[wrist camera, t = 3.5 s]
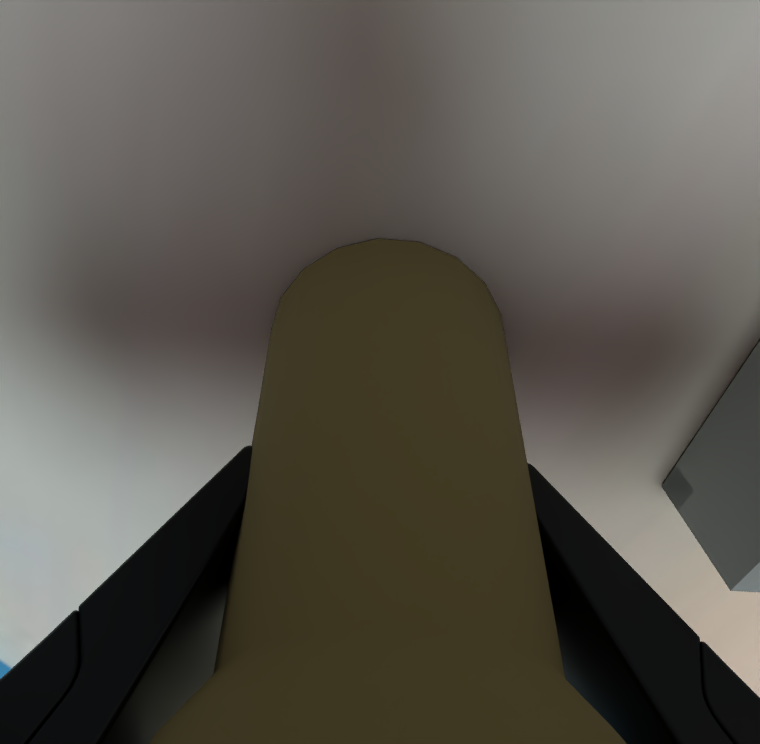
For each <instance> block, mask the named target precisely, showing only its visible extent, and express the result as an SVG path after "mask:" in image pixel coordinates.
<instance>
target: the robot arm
mask: <svg viewBox="0 0 760 744" xmlns="http://www.w3.org/2000/svg"><path fill="white" fill-rule="evenodd" d="M252 448H253V446H246V447H244V448H243V449H242V450H241V451H240V452H239V453H238V454H237V455H236V456H235V457H234V458H233V459H232V460H231V461H230V462H229V463H228V464H226V465H225V466H224V467H223V468H222V469H221V470H220V471H219V472H218V473H217V474H216V475H215V476H214V477H213V478H212V479H211V480H210V481H209V482H208V483H207V484H206V485H205V486H204V487H202V488H201V489H200V490H199V491H198V492H197V493H196V494H195V495H194V496H193V497H192V498H191V499H190V500H189V501H188V502H187V503H186V504H185V505H184V506H183V507H182V508H181V509H180V510H179V511H177V512H176V513H175V514H174V515H173V516H172V517H171V518H170V519H169V520H168V521H167V522H166V523H165V524H164V525H163V526H162V527H161V528H160V529H159V530H158V531H157V532H156V533H155V534H153V535H152V536H151V537H150V538H149V539H148V540H147V541H146V542H145V543H144V544H143V545H142V546H141V547H140V548H139V549H138V550H137V551H136V552H135V553H134V554H133V555H132V556H131V557H129V558H128V559H127V560H126V561H125V562H124V563H123V564H122V565H121V566H120V567H119V568H118V569H117V570H116V571H115V572H114V573H113V574H112V575H111V576H110V577H109V578H108V579H107V580H106V581H104V582H103V583H102V584H101V585H100V586H99V587H98V588H97V589H96V590H95V591H94V592H93V593H92V594H91V595H90V596H89V597H88V598H87V599H86V600H85V601H84V602H83V603H82V604H80V606H79V611H77V610H75V611H73V612H72V613H71V614H70V615H69V616H68V617H67V618H66V619H65V620H63V621H62V622H61V623H60V624H59V625H58V626H57V627H56V628H55V629H54V630H53V631H52V632H51V633H50V634H49V635H48V636H47V637H46V638H45V639H43V640H42V641H41V642H40V643H39V644H38V645H37V646H36V647H35V648H34V649H33V650H32V651H30V652H29V653H28V654H27V655H26V656H25V657H24V658H23V659H22V660H21V661H20V662H19V663H17V664H16V665H15V666H14V667H13V668H12V669H11V670H10V671H9V672H8V673H7V674H6V675H4V676H3V677H2V678H1V679H0V744H149V743H150V741H151V739H152V738H153V736H154V734H155V733H156V732H157V731H158V730H159V729H160V728H161V727H162V726H163V725H164V724H165V723H166V722H167V721H168V720H169V719H170V718H171V717H172V716H173V715H174V714H175V713H176V712H177V711H178V710H179V709H180V708H181V707H182V706H183V704H184V703H185V702H186V701H187V700H188V699H189V698H190V697H191V696H192V695H193V694H194V693H195V692H196V691H197V690H198V689H199V688H200V687H201V686H202V685H203V684H204V683H205V682H206V681H207V680H208V679H209V678H210V677H211V676H212V675H213V673H214V667H215V661H216V655H217V649H218V643H219V637H220V631H221V625H222V619H223V613H224V608H225V602H226V596H227V590H228V584H229V578H230V572H231V566H232V560H233V554H234V550H235V546H236V542H237V537H238V533H239V529H240V525H241V520H242V516H243V512H244V507H245V502H246V495H247V488H248V481H249V473H250V465H251V457H252ZM527 465H528V471H529V476H530V482H531V488H532V493H533V499H534V504H535V510H536V516H537V521H538V527H539V533H540V538H541V544H542V550H543V555H544V561H545V567H546V572H547V578H548V584H549V589H550V595H551V600H552V606H553V612H554V617H555V623H556V629H557V634H558V640H559V646H560V651H561V657H562V663H563V668H564V674H565V679H566V680H567V681H568V682H569V683H570V684H571V685H572V686H573V687H574V688H575V689H576V690H577V691H578V692H579V693H580V694H581V695H582V696H583V698H584V699H585V700H586V701H587V702H588V703H589V704H590V705H591V706H592V707H593V708H594V709H595V710H596V711H597V712H598V713H599V714H600V715H601V716H602V717H603V718H604V719H605V720H606V721H607V722H608V723H609V724H610V725H611V726H612V727H613V728H614V730H615V731H616V732H617V733H618V734H619V735H620V736H621V738H622V739H623V740H624V741H625V742H626V743H627V744H760V698H759V697H758V696H757V695H756V694H755V693H754V692H753V691H752V690H751V689H750V688H749V687H748V686H747V685H746V684H745V683H744V682H743V681H742V680H741V679H740V678H739V677H738V676H737V675H736V674H735V673H734V672H733V671H732V670H731V669H730V668H729V667H728V666H727V665H726V664H725V663H724V662H723V661H722V659H721V658H720V657H719V656H718V655H717V654H716V653H715V652H714V651H713V650H712V649H711V648H710V647H709V646H708V645H707V644H706V643H705V642H700V638H699V636H698V635H697V634H696V633H695V632H694V631H693V630H692V629H691V628H690V627H689V626H688V625H687V624H686V623H685V622H684V621H683V620H682V619H681V618H680V617H679V616H678V615H677V613H676V612H675V611H674V610H673V609H672V608H671V607H670V606H669V605H668V604H667V603H666V602H665V601H664V600H663V599H662V598H661V597H660V596H659V595H658V594H657V593H656V592H655V591H654V590H653V589H652V588H651V587H650V586H649V585H648V584H647V583H646V582H645V581H644V580H643V579H642V578H641V576H640V575H639V574H638V573H637V572H636V571H635V570H634V569H633V568H632V567H631V566H630V565H629V564H628V563H627V562H626V561H625V560H624V559H623V558H622V557H621V556H620V555H619V554H618V553H617V552H616V551H615V550H614V549H613V548H612V547H611V546H610V545H609V544H608V543H607V542H606V541H605V539H604V538H603V537H602V536H601V535H600V534H599V533H598V532H597V531H596V530H595V529H594V528H593V527H592V526H591V525H590V524H589V523H588V522H587V521H586V520H585V519H584V518H583V517H582V516H581V515H580V514H579V513H578V512H577V511H576V510H575V509H574V508H573V507H572V506H571V505H570V503H569V502H568V501H567V500H566V499H565V498H564V497H563V496H562V495H561V494H560V493H559V492H558V491H557V490H556V489H555V488H554V487H553V486H552V485H551V484H550V483H549V482H548V481H547V480H546V479H545V478H544V477H543V476H542V475H541V474H540V473H539V472H538V471H537V470H536V469H535V468H534V467H533V466H532V465H531V464H528V463H527Z"/></svg>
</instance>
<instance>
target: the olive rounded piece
mask: <svg viewBox="0 0 760 744" xmlns="http://www.w3.org/2000/svg"><path fill="white" fill-rule="evenodd" d="M252 446H253V448H252V457H251V465H250V473H249V481H248V488H247V495H246V502H245V507H244V512H243V516H242V520H241V525H240V529H239V533H238V537H237V542H236V546H235V550H234V554H233V560H232V566H231V572H230V578H229V584H228V590H227V596H226V602H225V608H224V613H223V619H222V625H221V631H220V637H219V643H218V649H217V655H216V661H215V667H214V673H213V675H212V676H211V677H210V678H209V679H208V680H207V681H206V682H205V683H204V684H203V685H202V686H201V687H200V688H199V689H198V690H197V691H196V692H195V693H194V694H193V695H192V696H191V697H190V698H189V699H188V700H187V701H186V702H185V703H184V704H183V706H182V707H181V708H180V709H179V710H178V711H177V712H176V713H175V714H174V715H173V716H172V717H171V718H170V719H169V720H168V721H167V722H166V723H165V724H164V725H163V726H162V727H161V728H160V729H159V730H158V731H157V732H156V733H155V734H154V736H153V738H152V739H151V741H150V743H149V744H627V743H626V742H625V741H624V740H623V739H622V738H621V736H620V735H619V734H618V733H617V732H616V731H615V730H614V728H613V727H612V726H611V725H610V724H609V723H608V722H607V721H606V720H605V719H604V718H603V717H602V716H601V715H600V714H599V713H598V712H597V711H596V710H595V709H594V708H593V707H592V706H591V705H590V704H589V703H588V702H587V701H586V700H585V699H584V698H583V696H582V695H581V694H580V693H579V692H578V691H577V690H576V689H575V688H574V687H573V686H572V685H571V684H570V683H569V682H568V681H567V680H566V679H565V674H564V668H563V663H562V657H561V651H560V646H559V640H558V634H557V629H556V623H555V617H554V612H553V606H552V600H551V595H550V589H549V584H548V578H547V572H546V567H545V561H544V555H543V550H542V544H541V538H540V533H539V527H538V521H537V516H536V510H535V504H534V499H533V493H532V488H531V482H530V476H529V471H528V465H527V459H526V454H525V448H524V442H523V437H522V431H521V425H520V420H519V414H518V408H517V403H516V397H515V392H514V386H513V380H512V375H511V369H510V363H509V358H508V352H507V346H506V341H505V335H504V329H503V324H502V318H501V313H500V311H499V309H498V307H497V305H496V304H495V302H494V300H493V298H492V296H491V294H490V292H489V290H488V288H487V286H486V284H485V283H484V282H483V281H482V280H481V279H480V278H479V277H478V276H477V275H475V274H474V273H473V272H472V271H471V270H470V269H469V268H468V267H467V266H465V265H464V264H463V263H462V262H461V261H460V260H459V259H458V258H456V257H454V256H452V255H449V254H447V253H444V252H442V251H440V250H437V249H435V248H432V247H430V246H428V245H425V244H423V243H420V242H412V241H399V240H386V239H374V240H370V241H366V242H362V243H357V244H353V245H349V246H345V247H341V248H337V249H335V250H333V251H332V252H330V253H329V254H327V255H325V256H324V257H322V258H321V259H319V260H317V261H316V262H314V263H313V264H311V265H309V266H308V267H306V268H305V269H303V270H302V272H301V273H300V274H299V275H298V277H297V278H296V279H295V281H294V282H293V283H292V284H291V286H290V287H289V288H288V289H287V291H286V292H285V293H284V295H283V296H282V297H281V299H280V303H279V306H278V309H277V313H276V316H275V319H274V322H273V326H272V329H271V335H270V341H269V346H268V352H267V358H266V364H265V370H264V376H263V382H262V388H261V394H260V400H259V406H258V412H257V418H256V424H255V430H254V435H253V441H252Z"/></svg>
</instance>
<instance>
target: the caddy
mask: <svg viewBox="0 0 760 744" xmlns="http://www.w3.org/2000/svg"><path fill="white" fill-rule="evenodd" d="M662 488H663V489H664V491H665V492H666V494H667V495H668V497H669V498H670V500H671V501H672V503H673V504H674V506H675V507H676V509H677V510H678V512H679V513H680V515H681V516H682V518H683V519H684V521H685V522H686V524H687V525H688V527H689V529H690V530H691V532H692V533H693V535H694V536H695V538H696V539H697V541H698V542H699V544H700V545H701V547H702V548H703V550H704V551H705V553H706V554H707V556H708V557H709V559H710V560H711V562H712V563H713V565H714V566H715V568H716V569H717V571H718V572H719V574H720V576H721V577H722V579H723V580H724V582H725V583H726V585H727V586H728V588H729V589H730V591H745V592H760V341H759V342H758V344H757V345H756V347H755V348H754V350H753V351H752V353H751V354H750V356H749V357H748V359H747V360H746V362H745V363H744V365H743V366H742V368H741V369H740V371H739V372H738V374H737V375H736V377H735V378H734V380H733V381H732V382H731V384H730V385H729V387H728V388H727V390H726V391H725V393H724V394H723V396H722V397H721V399H720V400H719V402H718V403H717V405H716V406H715V408H714V409H713V411H712V412H711V414H710V415H709V417H708V418H707V420H706V421H705V423H704V424H703V426H702V427H701V428H700V430H699V431H698V433H697V434H696V436H695V437H694V439H693V440H692V442H691V443H690V445H689V446H688V448H687V449H686V451H685V452H684V454H683V455H682V457H681V458H680V460H679V461H678V463H677V464H676V466H675V467H674V469H673V470H672V471H671V473H670V474H669V476H668V477H667V479H666V480H665V482H664V483H663V485H662Z"/></svg>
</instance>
